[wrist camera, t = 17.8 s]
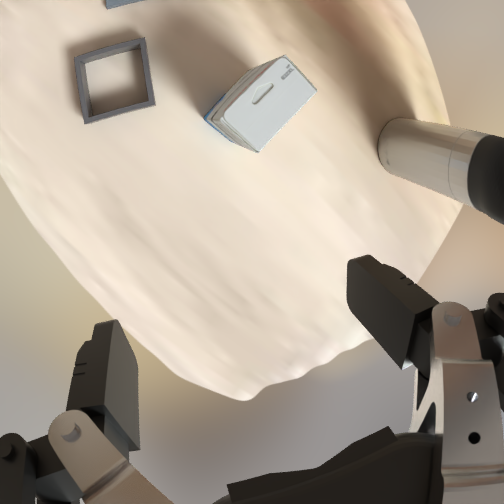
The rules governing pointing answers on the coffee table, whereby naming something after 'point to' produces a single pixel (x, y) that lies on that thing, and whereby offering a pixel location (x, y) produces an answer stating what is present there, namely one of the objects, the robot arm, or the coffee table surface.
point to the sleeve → (107, 52)
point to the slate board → (118, 3)
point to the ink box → (261, 103)
